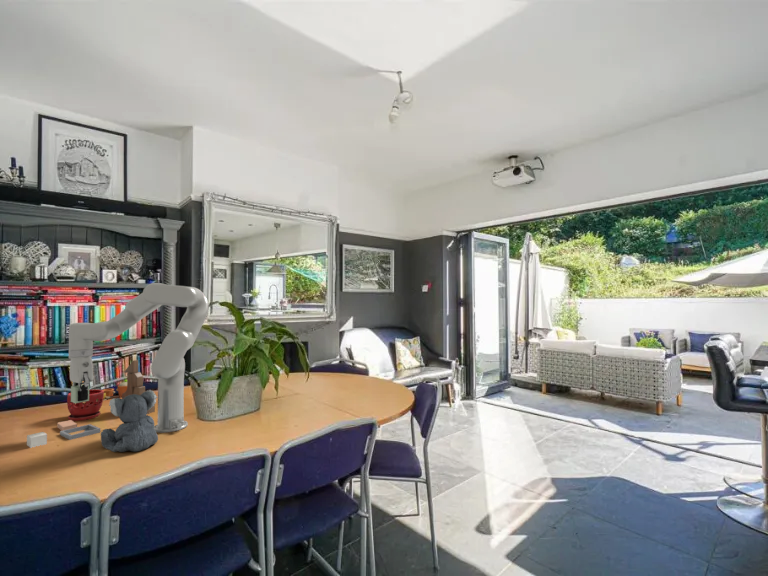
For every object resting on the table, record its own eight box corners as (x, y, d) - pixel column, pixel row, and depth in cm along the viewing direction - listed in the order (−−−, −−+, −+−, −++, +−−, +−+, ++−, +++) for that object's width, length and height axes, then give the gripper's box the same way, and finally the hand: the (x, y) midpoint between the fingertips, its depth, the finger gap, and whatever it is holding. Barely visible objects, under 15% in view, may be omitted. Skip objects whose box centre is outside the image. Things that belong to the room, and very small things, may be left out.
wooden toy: (155, 411, 183) (156, 359, 183) (142, 415, 176) (143, 361, 177) (132, 408, 188) (132, 357, 188) (119, 412, 182) (119, 359, 182)
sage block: (89, 400, 153) (89, 385, 153) (75, 403, 149) (75, 387, 149) (84, 399, 155) (84, 384, 156) (70, 401, 152) (71, 386, 152)
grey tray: (100, 433, 154) (100, 428, 154) (69, 441, 145) (69, 436, 145) (90, 428, 159) (90, 424, 159) (59, 436, 151) (59, 431, 151)
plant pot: (83, 423, 166) (83, 396, 166) (59, 422, 168) (59, 394, 169) (110, 414, 179) (110, 388, 179) (87, 413, 181) (87, 387, 182)
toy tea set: (133, 391, 224) (133, 375, 224) (139, 396, 213) (139, 379, 213) (76, 400, 206) (76, 382, 206) (79, 406, 195) (80, 387, 195)
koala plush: (150, 434, 153) (151, 384, 153) (169, 444, 141) (169, 391, 142) (98, 447, 139) (98, 393, 140) (114, 460, 128) (114, 401, 128)
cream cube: (46, 446, 141) (47, 434, 141) (30, 450, 137) (30, 437, 137) (42, 443, 143) (42, 431, 143) (26, 447, 140) (26, 435, 140)
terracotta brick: (77, 431, 157) (77, 424, 157) (63, 434, 154) (63, 427, 154) (71, 427, 163) (71, 419, 163) (57, 430, 159) (57, 422, 159)
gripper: (100, 354, 151) (100, 400, 151) (83, 351, 161) (82, 394, 160) (77, 356, 145) (77, 405, 145) (61, 353, 154) (60, 398, 154)
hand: (80, 399), depth 152 cm, fingers closed on sage block, 4 cm apart
